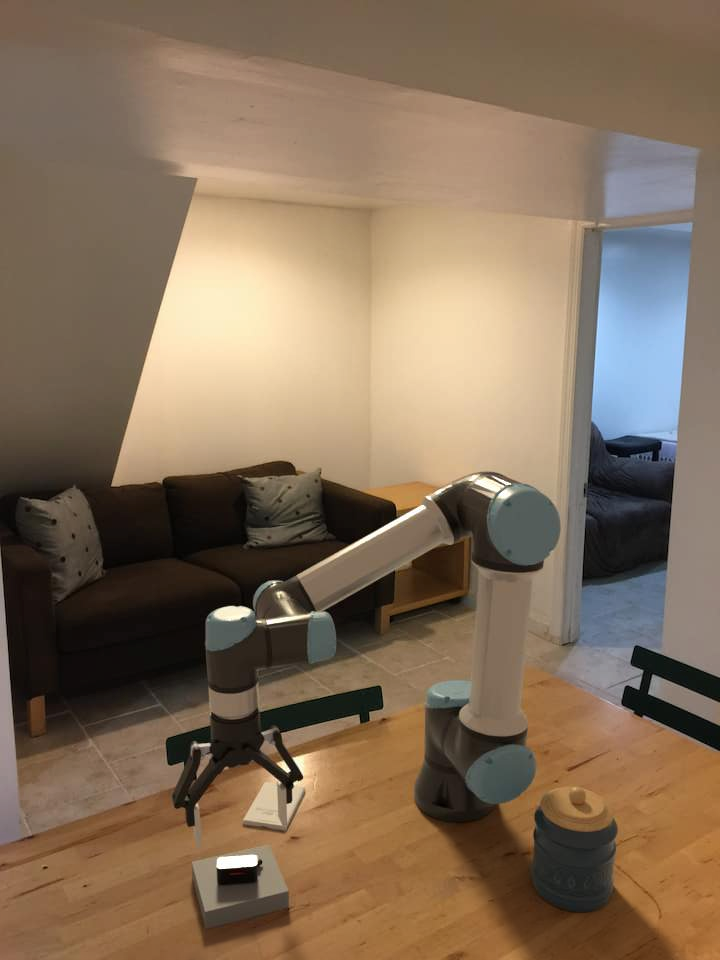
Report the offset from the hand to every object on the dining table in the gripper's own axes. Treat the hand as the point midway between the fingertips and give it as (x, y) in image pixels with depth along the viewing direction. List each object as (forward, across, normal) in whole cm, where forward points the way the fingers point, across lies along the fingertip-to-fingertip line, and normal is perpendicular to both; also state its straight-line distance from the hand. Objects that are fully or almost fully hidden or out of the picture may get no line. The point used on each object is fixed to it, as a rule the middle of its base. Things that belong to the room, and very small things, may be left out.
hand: (241, 831), depth 129 cm
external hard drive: (+12, -10, -20) cm, 26 cm away
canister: (+12, -50, +17) cm, 54 cm away
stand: (+11, +1, 0) cm, 11 cm away
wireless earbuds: (+8, 0, 0) cm, 8 cm away
